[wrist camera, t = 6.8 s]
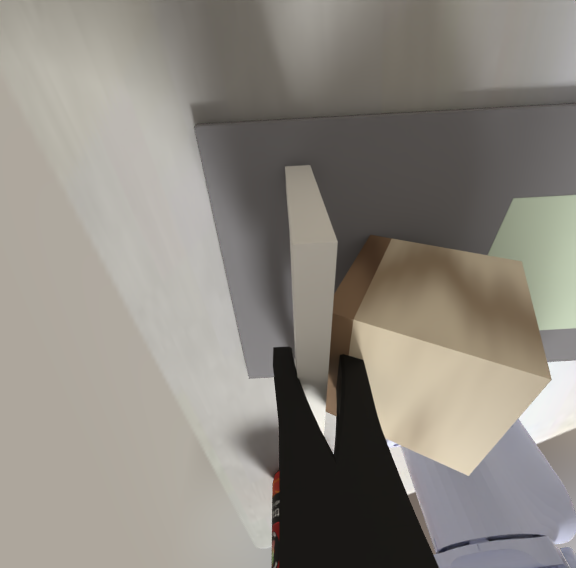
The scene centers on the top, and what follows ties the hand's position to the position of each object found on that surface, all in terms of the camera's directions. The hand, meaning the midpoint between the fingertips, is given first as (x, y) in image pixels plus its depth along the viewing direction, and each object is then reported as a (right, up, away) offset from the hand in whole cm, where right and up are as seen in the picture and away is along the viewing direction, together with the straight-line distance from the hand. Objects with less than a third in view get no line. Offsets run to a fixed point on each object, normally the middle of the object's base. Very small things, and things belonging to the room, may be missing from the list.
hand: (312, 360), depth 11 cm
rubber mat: (+9, +4, +5) cm, 11 cm away
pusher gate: (0, +3, +5) cm, 6 cm away
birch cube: (+2, +1, +2) cm, 3 cm away
